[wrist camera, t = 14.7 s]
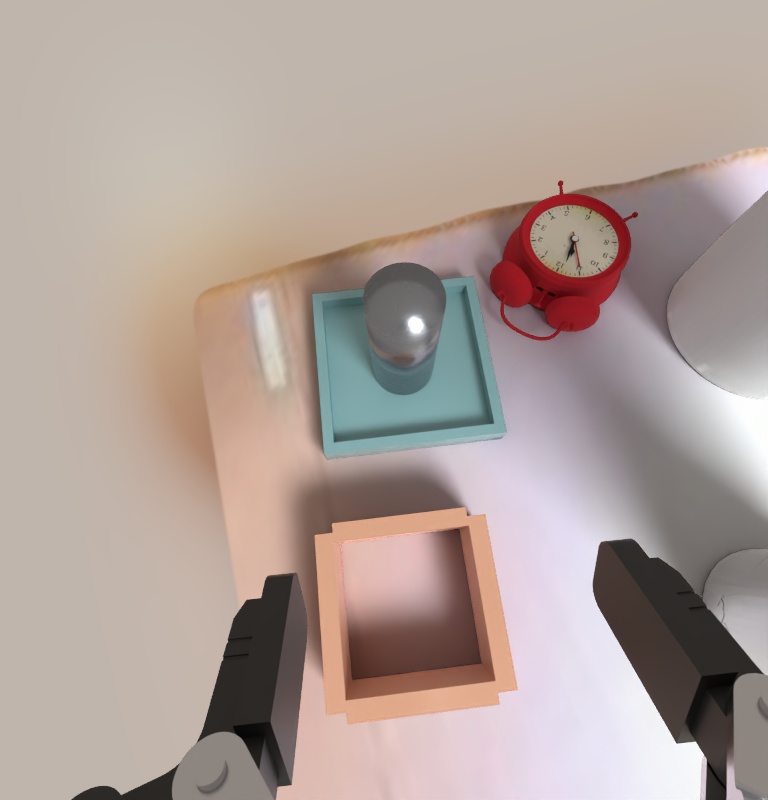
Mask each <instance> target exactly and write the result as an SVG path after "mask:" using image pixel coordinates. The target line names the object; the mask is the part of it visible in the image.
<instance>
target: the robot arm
mask: <svg viewBox="0 0 768 800" xmlns="http://www.w3.org/2000/svg"><path fill="white" fill-rule="evenodd" d="M593 592H594V596H595V600H596V602H597V605H598V607H599V609H600V611H601V612H602V614H603V616H604V618H605V619H606V621H607V623H608V625H609V626H610V628H611V630H612V631H613V633H614V635H615V637H616V638H617V640H618V642H619V644H620V645H621V647H622V649H623V651H624V652H625V654H626V656H627V658H628V659H629V661H630V663H631V665H632V666H633V668H634V670H635V672H636V673H637V675H638V677H639V679H640V680H641V682H642V684H643V686H644V687H645V689H646V691H647V693H648V694H649V696H650V698H651V699H652V701H653V703H654V705H655V706H656V708H657V710H658V712H659V713H660V715H661V717H662V719H663V720H664V722H665V724H666V726H667V727H668V729H669V731H670V733H671V734H672V736H673V738H674V740H675V741H676V743H677V744H678V743H686V742H695V741H696V742H697V744H698V746H699V747H700V749H701V751H702V752H703V754H704V757H703V759H702V771H701V794H700V800H768V549H750V550H741V551H738V552H735V553H732V554H730V555H728V556H726V557H725V558H723V559H722V560H721V561H719V562H718V563H717V564H716V566H715V567H714V568H713V569H712V571H711V572H710V574H709V576H708V578H707V581H706V583H705V587H704V592H703V601H702V599H701V598H700V597H699V596H698V595H697V594H695V593H694V590H693V589H692V587H691V586H690V585H689V584H688V583H687V581H686V580H685V579H684V578H683V577H682V575H681V574H680V573H679V572H678V571H676V570H675V569H674V568H672V567H671V566H669V565H668V564H667V563H665V562H664V561H662V560H661V559H659V558H658V557H657V558H649V557H648V556H647V555H646V553H645V552H644V551H643V549H642V548H641V547H640V546H639V544H638V543H637V542H636V541H635V540H633V539H623V540H613V541H604V542H601V543H600V545H599V549H598V555H597V561H596V567H595V572H594V578H593ZM306 642H307V615H306V609H305V605H304V601H303V596H302V592H301V588H300V583H299V579H298V575H297V573H289V574H280V575H270V576H267V578H266V580H265V584H264V588H263V593H262V597H261V598H259V599H250V600H246V602H245V603H244V605H243V606H242V607H241V609H240V610H239V612H238V613H237V615H236V616H235V618H234V620H233V623H232V627H231V630H230V634H229V638H228V643H227V645H226V648H225V652H224V655H223V661H222V663H221V666H220V670H219V674H218V677H217V681H216V684H215V688H214V691H213V695H212V699H211V702H210V706H209V709H208V713H207V717H206V720H205V724H204V727H203V730H202V733H201V735H200V737H199V739H198V741H197V743H196V744H195V745H194V746H193V747H192V748H191V749H190V750H189V751H188V752H187V754H186V755H185V756H184V758H183V759H182V761H181V762H180V763H179V764H178V765H177V766H176V767H175V768H174V769H172V770H171V771H169V772H168V773H166V774H164V775H162V776H161V777H158V778H156V779H154V780H152V781H150V782H148V783H146V784H144V785H142V786H140V787H138V788H135V789H133V790H131V791H129V792H127V793H125V794H123V795H120V793H119V792H118V791H117V790H115V789H114V788H112V787H109V786H98V787H94V788H91V789H89V790H86V791H84V792H82V793H80V794H79V795H77V796H76V797H74V798H73V799H72V800H276V794H277V787H279V786H288V785H292V776H293V766H294V757H295V747H296V738H297V728H298V719H299V709H300V700H301V690H302V680H303V671H304V661H305V652H306Z"/></svg>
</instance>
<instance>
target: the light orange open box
mask: <svg viewBox="0 0 768 800" xmlns="http://www.w3.org/2000/svg"><path fill="white" fill-rule="evenodd" d="M455 529H459V530H460V536H461V542H462V548H463V554H464V560H465V566H466V572H467V578H468V584H469V590H470V596H471V602H472V608H473V614H474V620H475V626H476V632H477V638H478V645H479V651H480V657H481V664H473V665H466V666H458V667H450V668H442V669H435V670H427V671H419V672H412V673H404V674H396V675H388V676H381V677H373V678H365V679H358V680H352V673H351V661H350V649H349V637H348V625H347V612H346V600H345V588H344V576H343V564H342V552H341V544H342V543H350V542H358V541H366V540H374V539H382V538H390V537H398V536H406V535H415V534H423V533H431V532H439V531H447V530H455ZM332 532H333V533H327V534H319V535H315V550H316V566H317V582H318V597H319V613H320V628H321V644H322V659H323V675H324V690H325V706H326V715H331V714H338V713H347V724H354V723H362V722H370V721H377V720H385V719H392V718H400V717H408V716H415V715H423V714H430V713H438V712H446V711H453V710H461V709H468V708H476V707H484V706H491V705H499V704H500V703H499V697H498V693H499V692H506V691H514V690H518V689H517V683H516V678H515V672H514V667H513V662H512V656H511V651H510V645H509V640H508V635H507V629H506V624H505V618H504V613H503V608H502V602H501V597H500V591H499V586H498V581H497V575H496V570H495V564H494V559H493V554H492V548H491V543H490V537H489V532H488V527H487V521H486V516H485V514H482V515H473V516H467V511H466V507H462V508H454V509H446V510H438V511H430V512H421V513H413V514H405V515H397V516H389V517H381V518H373V519H364V520H356V521H348V522H340V523H332Z"/></svg>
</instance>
